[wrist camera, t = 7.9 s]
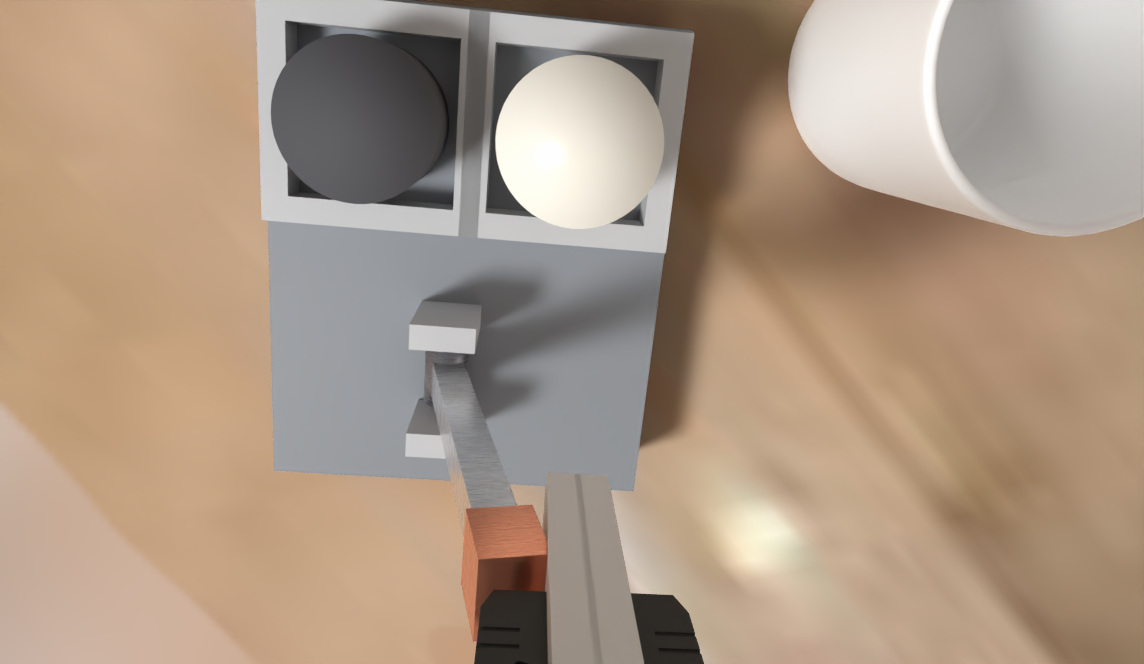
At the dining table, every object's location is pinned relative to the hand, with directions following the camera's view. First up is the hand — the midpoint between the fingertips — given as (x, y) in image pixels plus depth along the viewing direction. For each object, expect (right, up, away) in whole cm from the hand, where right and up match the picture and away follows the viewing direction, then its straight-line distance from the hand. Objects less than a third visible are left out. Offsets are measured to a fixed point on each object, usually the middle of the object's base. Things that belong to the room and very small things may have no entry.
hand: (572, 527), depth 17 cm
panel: (-4, +7, +11) cm, 14 cm away
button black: (-6, +11, +6) cm, 14 cm away
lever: (-4, +3, +8) cm, 10 cm away
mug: (+12, +16, +9) cm, 22 cm away
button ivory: (0, +10, +5) cm, 12 cm away
